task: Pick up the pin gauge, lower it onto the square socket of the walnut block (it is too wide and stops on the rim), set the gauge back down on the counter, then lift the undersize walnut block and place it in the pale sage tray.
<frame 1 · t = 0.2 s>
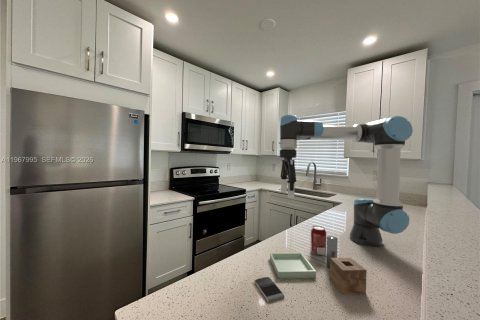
hand: (287, 195, 90), 27 cm above the table, fingers open, 13 cm apart
tray: (291, 267, 79), on the table
pin gauge: (331, 266, 80), on the table
walnut block: (346, 286, 68), on the table
soda can: (318, 253, 92), on the table
cell phone: (268, 291, 65), on the table
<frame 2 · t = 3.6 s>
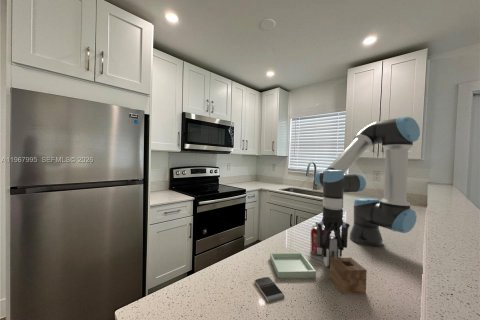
hand: (331, 264, 80), 1 cm above the table, fingers closed on pin gauge, 4 cm apart
pin gauge: (331, 266, 80), on the table, touching gripper
everything else where it was.
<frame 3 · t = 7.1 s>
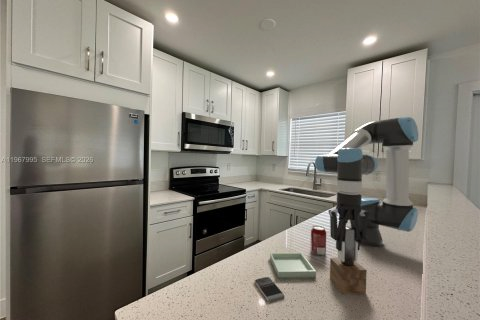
hand: (347, 259, 68), 9 cm above the table, fingers closed on pin gauge, 4 cm apart
pin gauge: (347, 262, 68), point 8 cm above the table, touching gripper
everything else where it was.
when the fingers open (3 cm above the table, at t = 10.6 s): pin gauge drops 1 cm, on the table.
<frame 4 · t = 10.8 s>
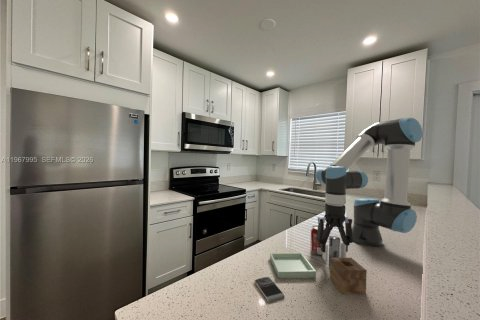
hand: (334, 259, 80), 3 cm above the table, fingers open, 7 cm apart
pin gauge: (333, 266, 80), on the table
everything else where it was.
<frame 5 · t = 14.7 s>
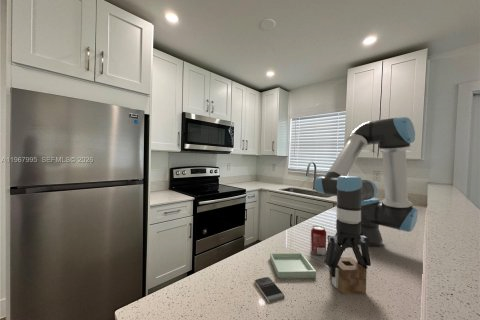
hand: (346, 285, 68), 0 cm above the table, fingers closed on walnut block, 8 cm apart
walnut block: (346, 286, 68), on the table, touching gripper
everything else where it was.
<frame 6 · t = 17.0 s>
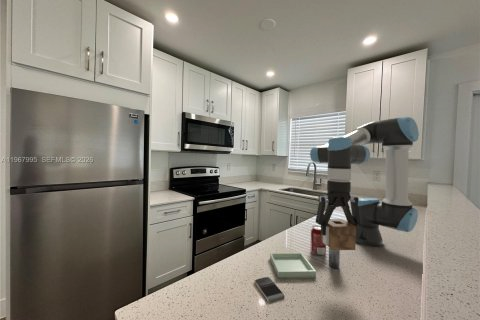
hand: (337, 243, 70), 14 cm above the table, fingers closed on walnut block, 8 cm apart
walnut block: (337, 244, 69), point 14 cm above the table, touching gripper
everything else where it was.
when the fingers open (3 cm above the table, at t = 19.5 s): walnut block drops 2 cm, resting on tray.
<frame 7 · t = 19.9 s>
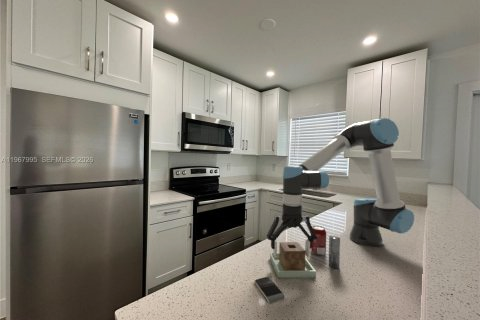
hand: (291, 256, 79), 5 cm above the table, fingers open, 13 cm apart
walnut block: (291, 265, 79), point 1 cm above the table, touching tray
everything else where it was.
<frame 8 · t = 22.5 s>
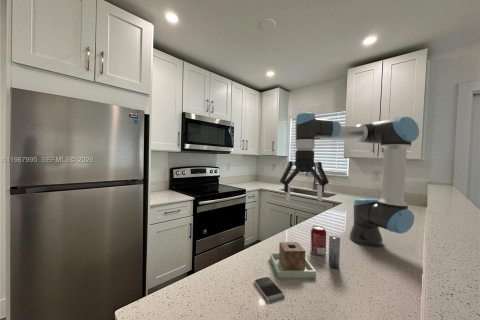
hand: (303, 200, 82), 27 cm above the table, fingers open, 13 cm apart
nothing on the table moved.
at the end: walnut block inside the target area on the tray (0.2 cm from its centre), point 0.6 cm above the tray's base; walnut block tilted 0°; the gripper is holding nothing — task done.
